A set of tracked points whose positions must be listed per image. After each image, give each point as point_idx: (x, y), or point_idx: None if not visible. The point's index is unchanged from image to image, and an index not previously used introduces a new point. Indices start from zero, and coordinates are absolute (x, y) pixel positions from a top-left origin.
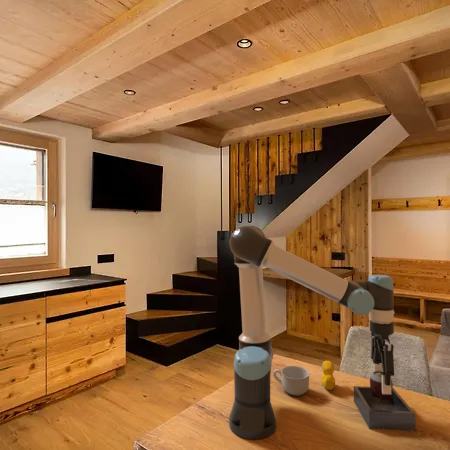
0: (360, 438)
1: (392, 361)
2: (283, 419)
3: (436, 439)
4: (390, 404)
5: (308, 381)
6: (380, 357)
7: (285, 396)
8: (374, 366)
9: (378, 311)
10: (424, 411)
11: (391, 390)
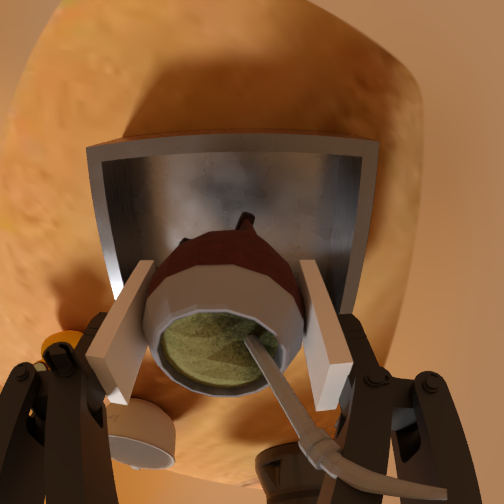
0: (371, 325)
1: (471, 492)
2: (278, 435)
3: (394, 85)
4: (160, 164)
5: (140, 424)
6: (88, 436)
7: (175, 426)
8: (130, 392)
9: None
10: (184, 24)
11: (268, 244)
